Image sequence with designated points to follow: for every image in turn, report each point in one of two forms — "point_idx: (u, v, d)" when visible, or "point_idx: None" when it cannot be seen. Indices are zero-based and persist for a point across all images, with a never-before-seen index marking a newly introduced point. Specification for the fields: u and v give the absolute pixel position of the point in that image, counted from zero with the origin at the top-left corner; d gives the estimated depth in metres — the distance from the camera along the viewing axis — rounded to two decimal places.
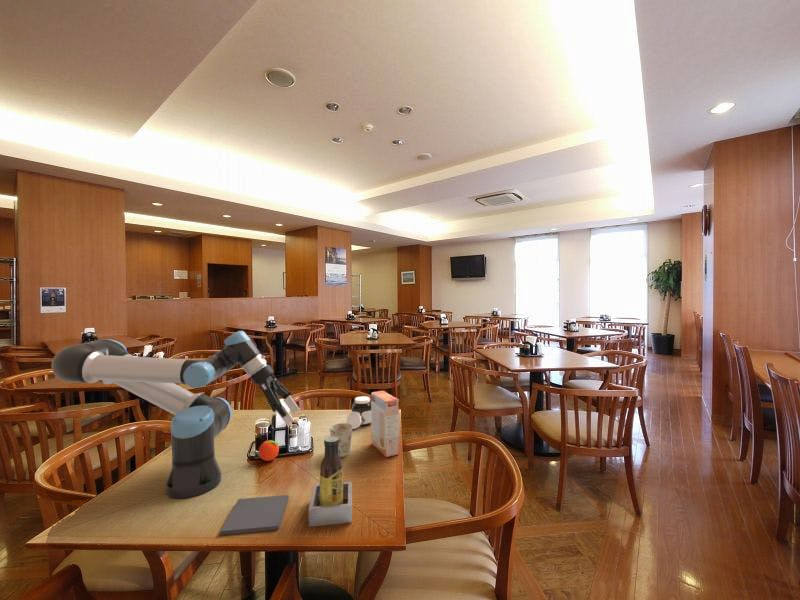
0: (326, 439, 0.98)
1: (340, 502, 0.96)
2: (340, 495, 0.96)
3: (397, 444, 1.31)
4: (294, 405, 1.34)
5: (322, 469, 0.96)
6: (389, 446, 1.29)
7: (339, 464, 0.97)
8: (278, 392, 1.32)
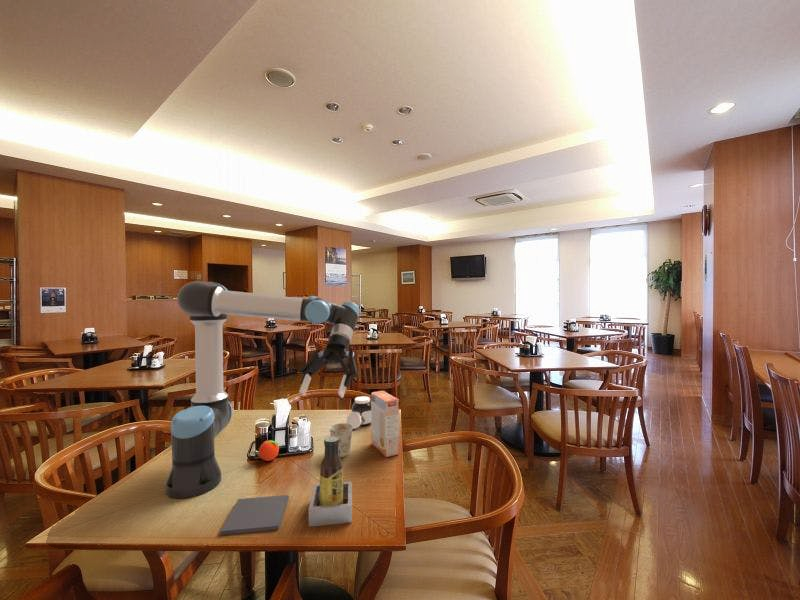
0: (326, 439, 0.98)
1: (340, 502, 0.96)
2: (340, 495, 0.96)
3: (397, 444, 1.31)
4: (306, 388, 1.15)
5: (322, 469, 0.96)
6: (389, 446, 1.29)
7: (339, 464, 0.97)
8: (318, 365, 1.19)
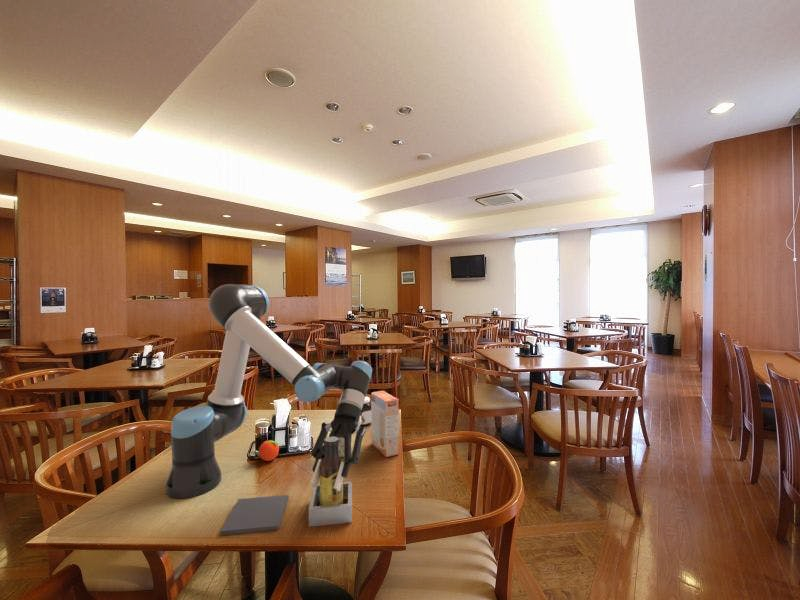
0: (326, 439, 0.98)
1: (340, 502, 0.96)
2: (340, 495, 0.96)
3: (397, 444, 1.31)
4: (318, 477, 0.98)
5: (322, 469, 0.96)
6: (389, 446, 1.29)
7: (339, 464, 0.97)
8: None
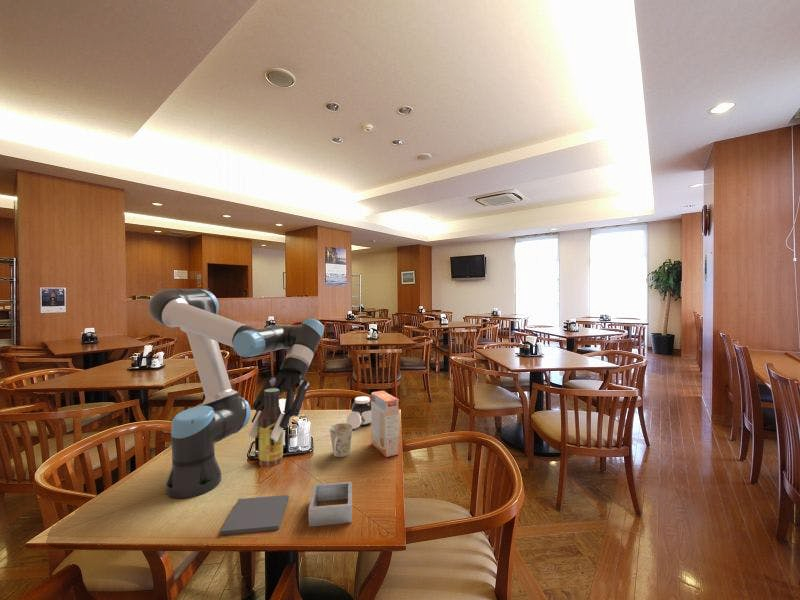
0: (266, 390, 0.96)
1: (279, 453, 0.95)
2: (278, 446, 0.95)
3: (397, 444, 1.31)
4: (258, 428, 0.96)
5: (260, 419, 0.94)
6: (389, 446, 1.29)
7: (279, 415, 0.95)
8: None
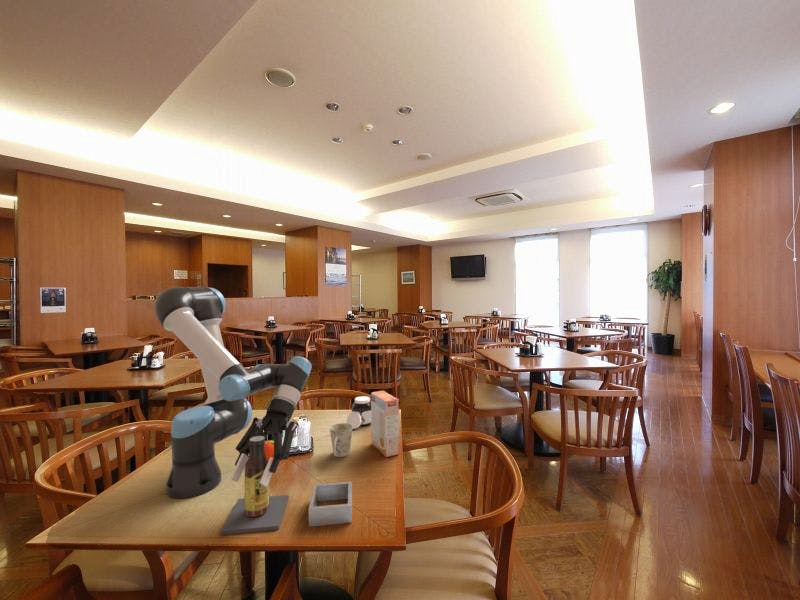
0: (251, 438, 0.96)
1: (264, 502, 0.95)
2: (264, 495, 0.95)
3: (397, 444, 1.31)
4: (241, 471, 0.97)
5: (246, 469, 0.95)
6: (389, 446, 1.29)
7: (264, 464, 0.96)
8: None
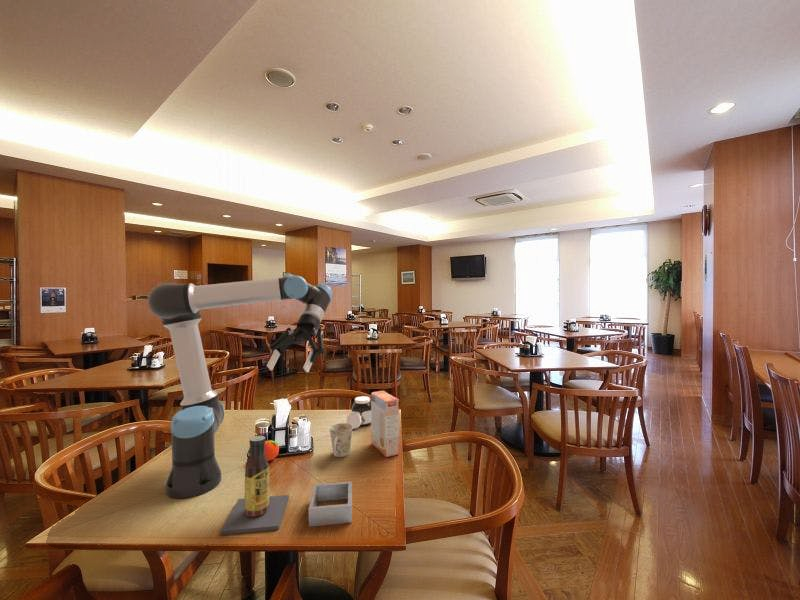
0: (252, 438, 0.97)
1: (264, 502, 0.95)
2: (264, 495, 0.95)
3: (397, 444, 1.31)
4: (274, 363, 1.19)
5: (246, 469, 0.95)
6: (389, 446, 1.29)
7: (264, 464, 0.96)
8: (287, 342, 1.23)
